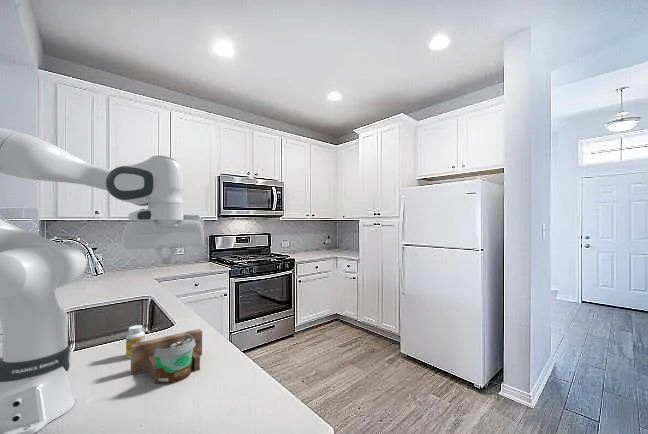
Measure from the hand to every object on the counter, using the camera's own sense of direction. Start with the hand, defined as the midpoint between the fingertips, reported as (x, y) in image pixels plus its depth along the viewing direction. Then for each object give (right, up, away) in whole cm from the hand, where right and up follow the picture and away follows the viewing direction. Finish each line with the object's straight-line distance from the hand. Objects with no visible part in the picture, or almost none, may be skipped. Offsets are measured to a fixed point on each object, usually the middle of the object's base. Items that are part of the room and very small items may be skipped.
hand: (165, 263), depth 82 cm
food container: (+3, -33, +3) cm, 34 cm away
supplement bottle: (-20, -34, +17) cm, 43 cm away
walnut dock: (-2, -33, +8) cm, 34 cm away
